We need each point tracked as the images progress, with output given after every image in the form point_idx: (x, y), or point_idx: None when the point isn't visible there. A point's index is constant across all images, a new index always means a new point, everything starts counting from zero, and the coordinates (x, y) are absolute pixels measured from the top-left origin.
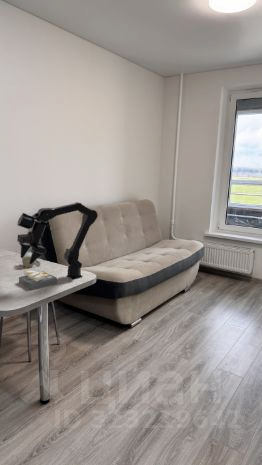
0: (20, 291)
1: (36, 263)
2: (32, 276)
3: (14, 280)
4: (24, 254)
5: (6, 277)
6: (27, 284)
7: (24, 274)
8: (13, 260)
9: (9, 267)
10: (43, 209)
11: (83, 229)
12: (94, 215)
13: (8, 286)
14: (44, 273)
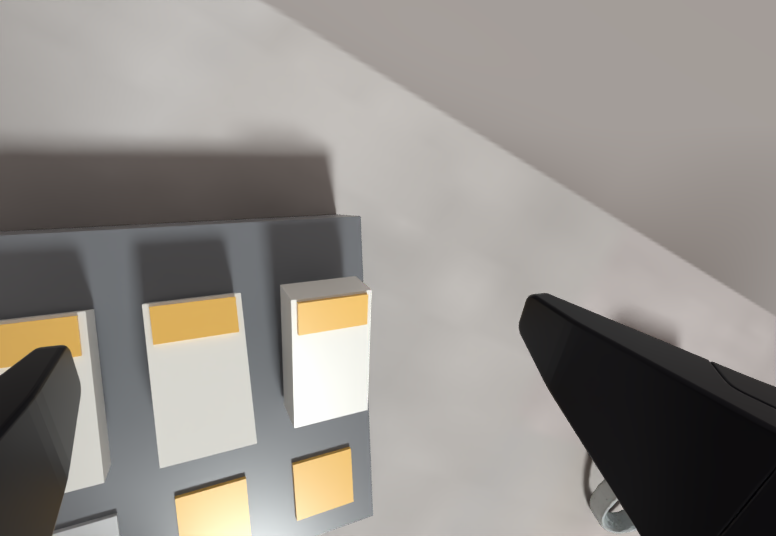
0: (14, 82)
1: (608, 500)
2: (146, 331)
3: (414, 202)
4: (568, 403)
5: (521, 179)
6: (120, 227)
7: (336, 279)
8: (751, 369)
9: (675, 296)
10: None
11: None
12: None
13: (292, 67)
14: (289, 516)
